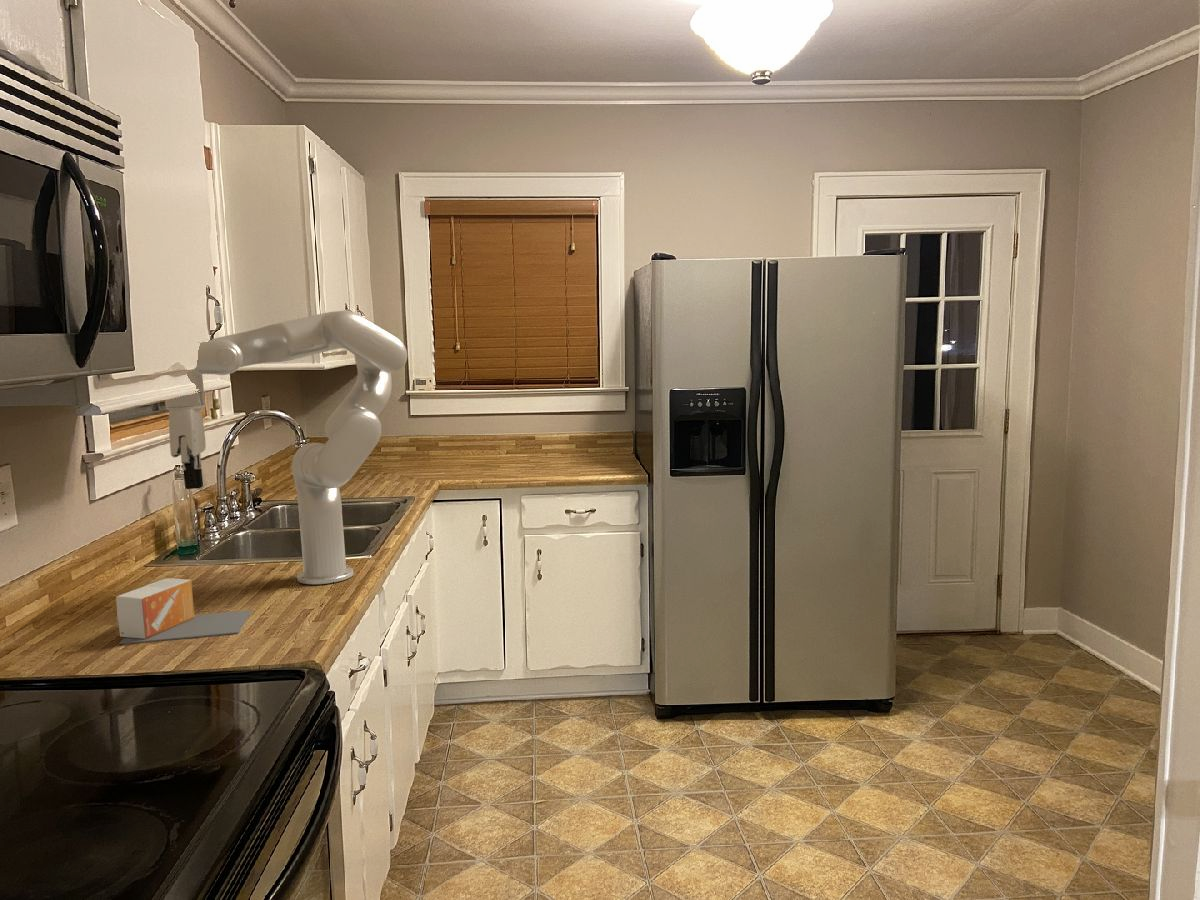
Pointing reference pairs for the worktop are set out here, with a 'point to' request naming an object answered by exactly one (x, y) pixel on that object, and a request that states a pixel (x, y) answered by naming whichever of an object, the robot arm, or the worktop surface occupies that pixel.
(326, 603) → the worktop surface
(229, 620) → the mat
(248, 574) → the worktop surface
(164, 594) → the small box
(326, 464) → the robot arm
